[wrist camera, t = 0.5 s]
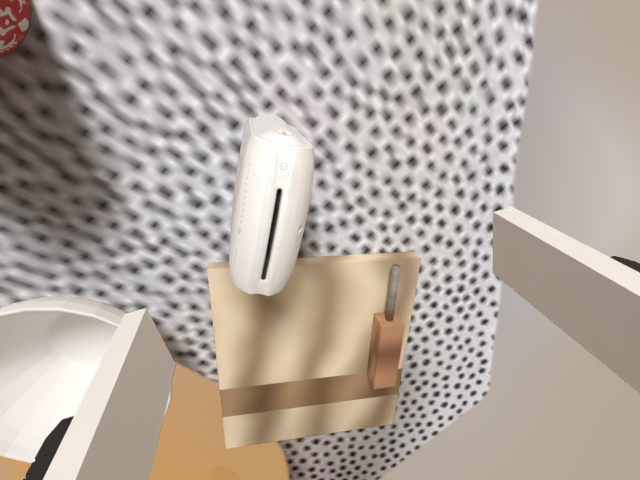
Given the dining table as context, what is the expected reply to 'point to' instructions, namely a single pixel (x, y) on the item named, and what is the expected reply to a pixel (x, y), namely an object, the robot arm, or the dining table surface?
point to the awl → (386, 340)
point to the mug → (13, 24)
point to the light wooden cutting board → (306, 347)
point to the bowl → (48, 365)
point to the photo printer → (269, 204)
